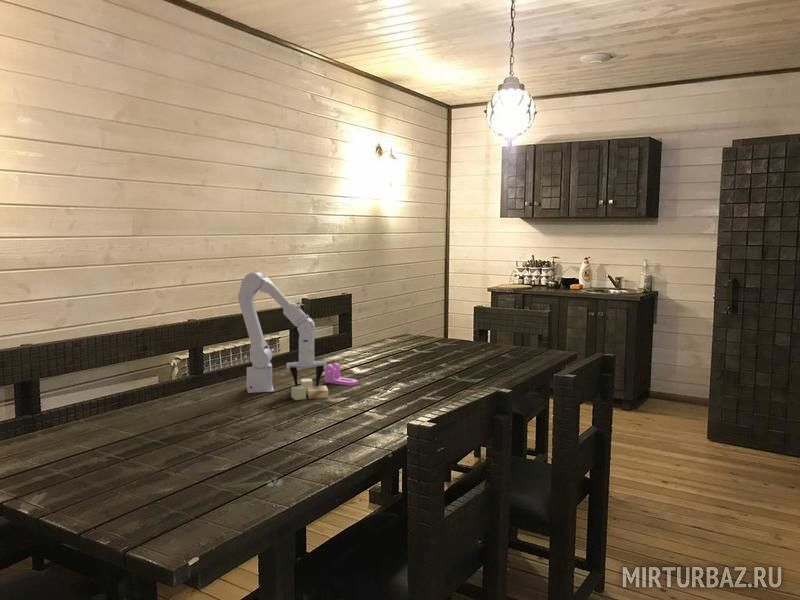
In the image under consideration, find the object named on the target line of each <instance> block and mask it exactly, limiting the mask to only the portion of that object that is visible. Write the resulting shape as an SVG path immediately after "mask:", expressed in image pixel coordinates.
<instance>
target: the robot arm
mask: <svg viewBox="0 0 800 600" xmlns="http://www.w3.org/2000/svg"><path fill="white" fill-rule="evenodd" d="M271 280H272V279H270V278H269V277H268V276H266V275H265V274H264V272H261V271H259V270H257V271H253V272H249V273H247V274H246V275H245V276H244V277H243V279H242V280H241V282H240V283H241V284H240V288H239V291H238V295H237V300H238V304H239V306H240V311H241V313H242V316H243V321H244V324H245V327H246V331H247V335H248V337H249V341H250V351H251V357H250V360H251V364H252V366H249V367H248V366H247V367H246V383H245V387H246V389H247V390H246V391H247V393H248V394H251V393H253V394H254V393H268V392H269V393H270V392H275V389H274V386H273V364H272V362H271V361H272V360H273V359H272V358H273V355H274V353H273V351H272V350H271V348H270V347H269V345H268V342H267V341H266V340H265V337H264V334H263V333H264V332H263V330H262V327H261V323H260V320H259V316H258V313H257V309H256V306H255V303H254V302H255V301H254V297H255V296H256V294H257V292H261V293H265V294H268V295H269V296H270V297H271V298H272V299H273V300H274V301H275V302H276V303H277V304H278V305H279V306H280V307H281V308H282V309H283V315H284V316H285V317H286V318H287V319H288V320H289V321H290V322H291V323H292V324H293V326H295V327H297V328H296V329H297V332H298V334H299V335H298V361H292V362H286V369H287V370H289V371H290V373H291V376H292V378H293V381H294V386H299V385H298V369H306V368H307V369H308V368H315V386H320V385H319V384H320V380H321V378H322V375H323V373H324V372H325V367H326V366H327V361H326V360H321V361H320V360H315V332H314V330H315V328H316V323H315V321H314V319H313V318H312V317H310V316H309V314H306V313H305V312H304V311H303V309H301V305H300V304H297V303H296V302H290V301H289V300H288V298H286V297H285V295H284V294H283V293H282V291H280V289H279V288H278V287H277V286H276V285H275V283H274V282H273V281H271Z"/></svg>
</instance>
